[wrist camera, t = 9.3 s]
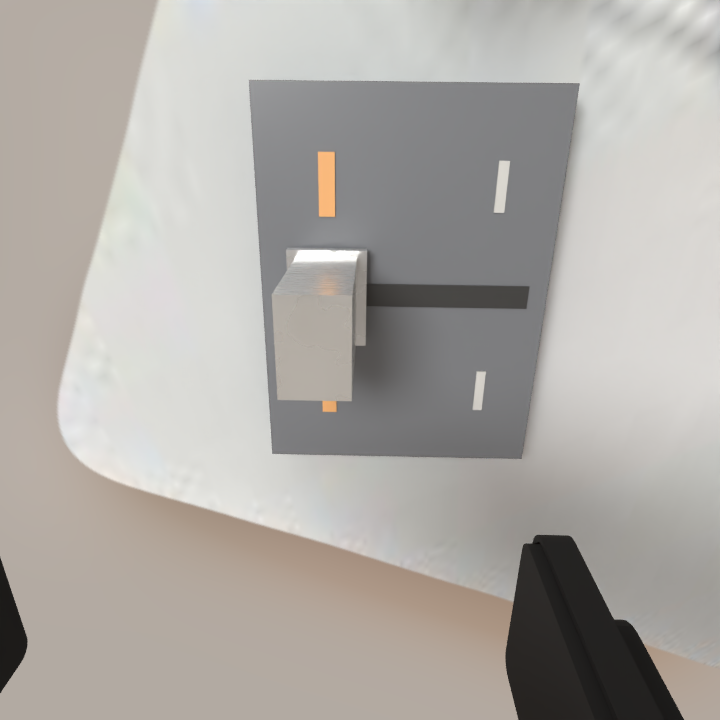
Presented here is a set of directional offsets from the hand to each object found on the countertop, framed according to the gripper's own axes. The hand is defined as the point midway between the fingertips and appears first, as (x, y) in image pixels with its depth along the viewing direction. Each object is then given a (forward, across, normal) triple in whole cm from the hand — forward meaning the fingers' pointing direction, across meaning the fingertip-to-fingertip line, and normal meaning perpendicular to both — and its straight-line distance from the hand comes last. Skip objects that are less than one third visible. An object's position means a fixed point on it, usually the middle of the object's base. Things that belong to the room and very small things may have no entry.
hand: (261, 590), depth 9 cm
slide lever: (+19, 0, 0) cm, 19 cm away
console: (+22, -4, 0) cm, 23 cm away
